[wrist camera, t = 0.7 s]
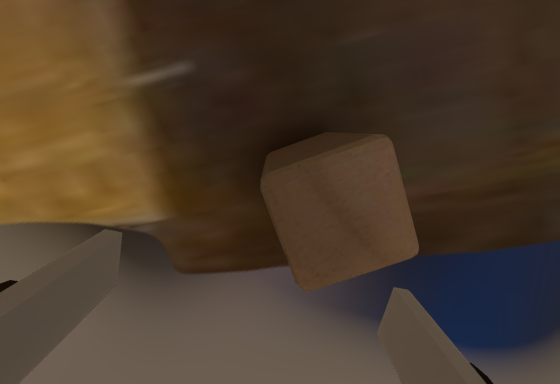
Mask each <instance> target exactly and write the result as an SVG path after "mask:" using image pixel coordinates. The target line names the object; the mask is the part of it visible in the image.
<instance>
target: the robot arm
mask: <svg viewBox="0 0 560 384" xmlns="http://www.w3.org/2000/svg"><path fill="white" fill-rule="evenodd" d="M121 239H122V233H121V232H116V231H111V230H106V229H105V230H103V231H102V232H100V233H98V234H96V235H95V236H93V237H91V238H90V239H88V240H87V241H85V242H83V243H82V244H80V245H78V246H77V247H75V248H73V249H72V250H70V251H68V252H67V253H65V254H63V255H62V256H60V257H58V258H57V259H55V260H53V261H52V262H50V263H48V264H47V265H45V266H43V267H42V268H40V269H39V270H37V271H35V272H34V273H32V274H30V275H29V276H27V277H25V278H24V279H22V280H20V281H13V280H9V281H6V282H4V283H1V284H0V384H19V383H20V382H21V381H22V380H23V379H24V378H25V377H26V376H27V375H28V374H29V373H30V372H31V371H32V370H33V369H34V368H35V367H36V366H37V365H38V364H39V363H40V362H41V361H42V360H43V359H44V358H45V357H46V356H47V355H48V354H49V353H50V352H51V351H52V350H53V349H54V348H55V347H56V346H57V345H58V344H59V343H60V342H61V341H62V340H63V339H64V338H65V337H66V336H67V335H68V334H69V333H70V332H71V331H72V330H73V329H74V328H75V327H76V326H77V325H78V324H79V323H80V322H81V321H82V320H83V319H84V318H85V317H86V316H87V315H88V314H89V313H90V312H91V311H92V310H93V309H94V308H95V307H96V306H97V305H98V304H99V303H100V302H101V301H102V300H103V299H104V298H105V297H106V296H107V295H108V294H109V293H110V292H111V290H112V289H114V288H115V287H116V286H117V277H118V268H119V258H120V249H121ZM377 335H378V337H379V339H380V341H381V343H382V345H383V347H384V349H385V351H386V353H387V355H388V357H389V359H390V361H391V363H392V365H393V367H394V369H395V371H396V373H397V375H398V377H399V379H400V381H401V383H402V384H493V383H492V382H491V380H490V379H489V378H488V377H487V376H486V375H485V374H484V373H483V372H482V371H480V370H479V369H478V368H477V367H476V366H474V365H473V364H472V363H469V362H468V361H467V360H466V359H465V357H464V356H463V355H462V354H461V353H460V351H459V350H458V349H457V348H456V346H454V344H453V343H452V342H451V340H450V339H449V338H448V337H447V336H446V335H445V333H444V332H443V331H442V330H441V329H440V327H439V326H438V325H437V324H436V322H435V321H434V320H433V319H432V318H431V316H430V315H429V314H428V313H427V312H426V310H425V309H424V308H423V307H422V306H421V304H419V302H418V301H417V300H416V299H415V297H414V296H413V295H412V294H411V292H410V291H409V290H405V289H400V288H395V287H394V289H393V291H392V294H391V297H390V300H389V302H388V305H387V308H386V311H385V313H384V316H383V319H382V322H381V324H380V327H379V330H378V332H377Z"/></svg>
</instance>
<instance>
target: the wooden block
mask: <svg viewBox="0 0 560 384" xmlns="http://www.w3.org/2000/svg"><path fill="white" fill-rule="evenodd" d="M260 190H261V193H262V196H263V198H264V201H265V204H266V206H267V209H268V211H269V214H270V217H271V219H272V222H273V224H274V227H275V230H276V232H277V235H278V238H279V240H280V243H281V245H282V248H283V251H284V253H285V256H286V258H287V261H288V264H289V266H290V269H291V271H292V274H293V277H294V279H295V282H296V283H297V284H298V285H299V286H300V287H301V288H302V289H303V291H313V290H316V289H319V288H322V287H325V286H328V285H331V284H335V283H338V282H340V281H344V280H347V279H350V278H353V277H356V276H359V275H362V274H365V273H368V272H371V271H374V270H377V269H380V268H383V267H386V266H389V265H392V264H395V263H398V262H401V261H404V260H407V259H410V258H413V257H414V256H415V255H416V254H418V250H419V245H418V241H417V237H416V233H415V229H414V225H413V221H412V217H411V213H410V209H409V205H408V202H407V198H406V194H405V190H404V186H403V182H402V178H401V174H400V170H399V166H398V162H397V158H396V154H395V150H394V147H393V143H392V142H391V140H390V139H389V138H388V136H387V135H381V134H361V133H340V132H325V133H322V134H319V135H316V136H313V137H311V138H308V139H305V140H302V141H300V142H297V143H294V144H291V145H289V146H286V147H283V148H280V149H277V150H275V151H272V152H270V153H269V154H268V155H267V156H266V160H265V164H264V168H263V172H262V176H261V183H260Z"/></svg>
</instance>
